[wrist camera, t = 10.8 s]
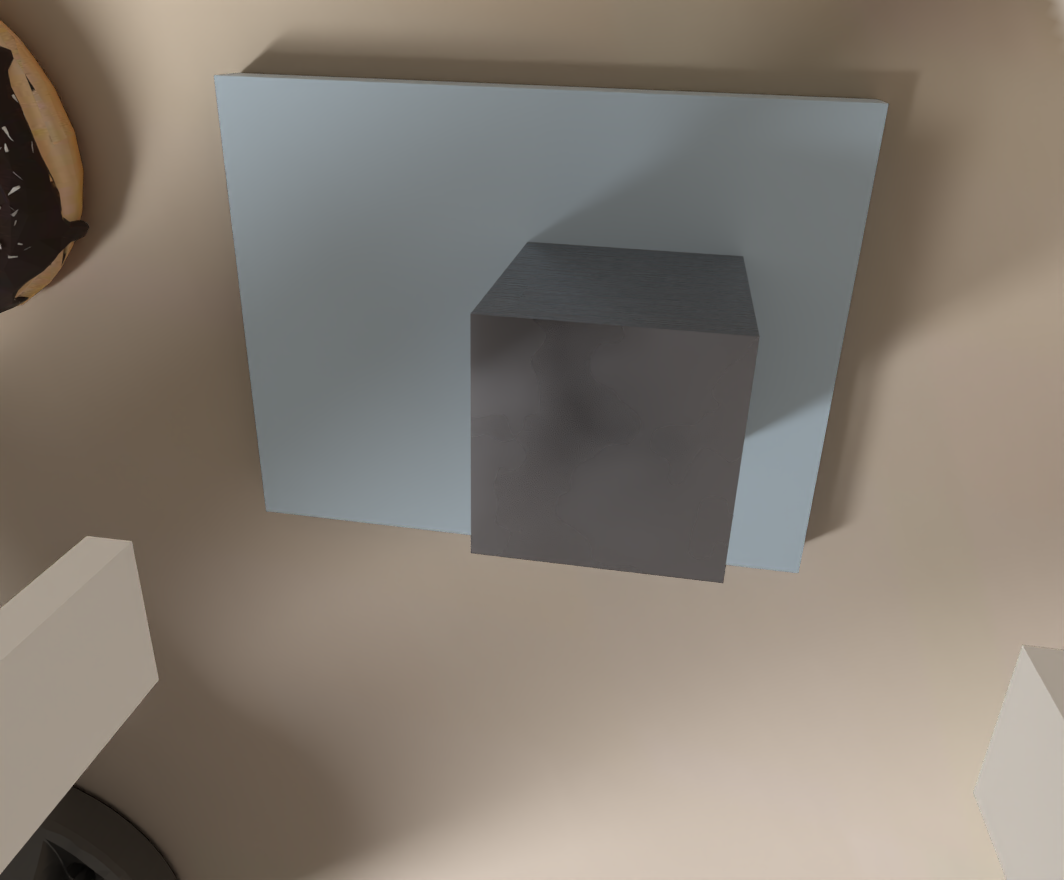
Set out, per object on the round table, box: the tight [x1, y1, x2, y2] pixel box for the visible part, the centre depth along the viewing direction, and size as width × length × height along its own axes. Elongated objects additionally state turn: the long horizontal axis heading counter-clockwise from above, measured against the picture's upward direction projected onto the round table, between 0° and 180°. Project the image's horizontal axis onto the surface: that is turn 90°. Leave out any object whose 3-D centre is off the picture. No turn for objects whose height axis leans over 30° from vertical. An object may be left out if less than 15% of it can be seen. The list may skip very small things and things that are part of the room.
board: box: [214, 73, 889, 573], centre depth 24 cm, size 18×14×6 cm
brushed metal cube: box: [470, 242, 760, 583], centre depth 22 cm, size 6×6×7 cm
